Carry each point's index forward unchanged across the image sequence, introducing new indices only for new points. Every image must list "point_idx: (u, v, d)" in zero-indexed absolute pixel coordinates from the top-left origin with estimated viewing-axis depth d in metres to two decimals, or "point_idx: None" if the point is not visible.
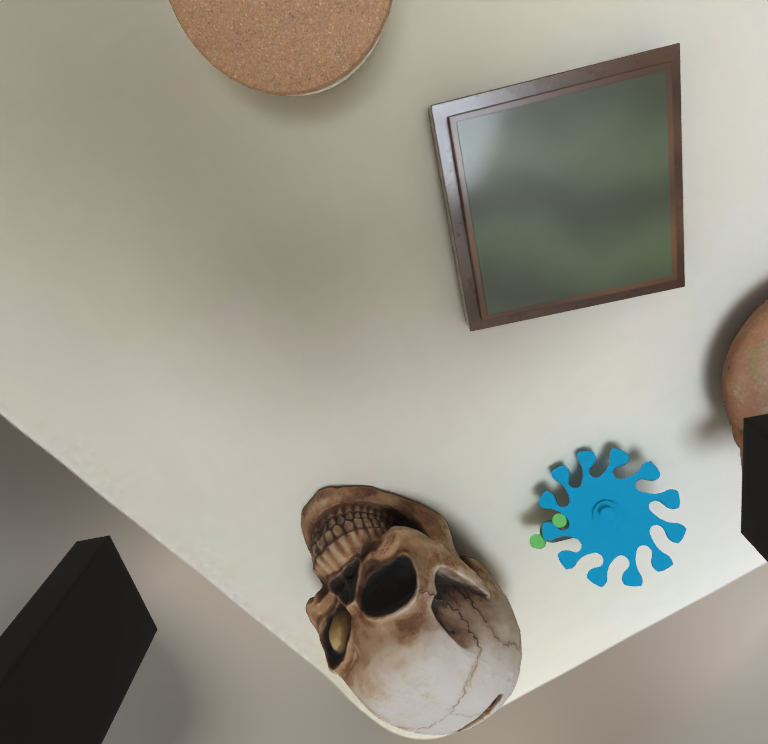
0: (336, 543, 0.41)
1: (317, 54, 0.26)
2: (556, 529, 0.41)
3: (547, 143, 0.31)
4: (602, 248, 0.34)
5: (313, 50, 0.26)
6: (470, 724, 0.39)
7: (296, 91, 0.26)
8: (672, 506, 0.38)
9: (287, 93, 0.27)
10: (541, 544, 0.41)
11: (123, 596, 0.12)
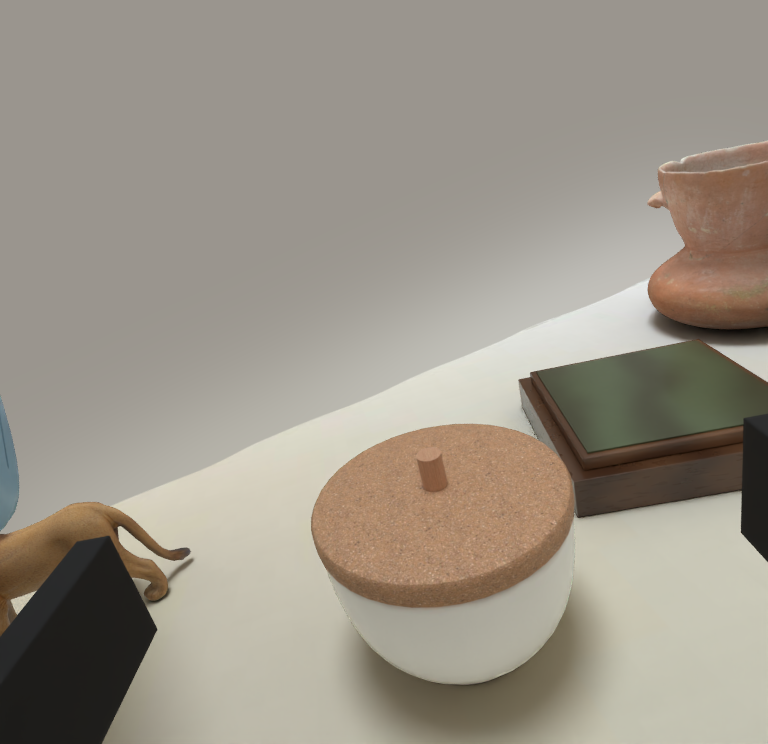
0: None
1: (527, 457, 0.23)
2: None
3: (598, 405, 0.34)
4: (687, 369, 0.36)
5: (523, 459, 0.23)
6: None
7: (568, 474, 0.21)
8: None
9: (571, 484, 0.21)
10: None
11: (123, 596, 0.12)
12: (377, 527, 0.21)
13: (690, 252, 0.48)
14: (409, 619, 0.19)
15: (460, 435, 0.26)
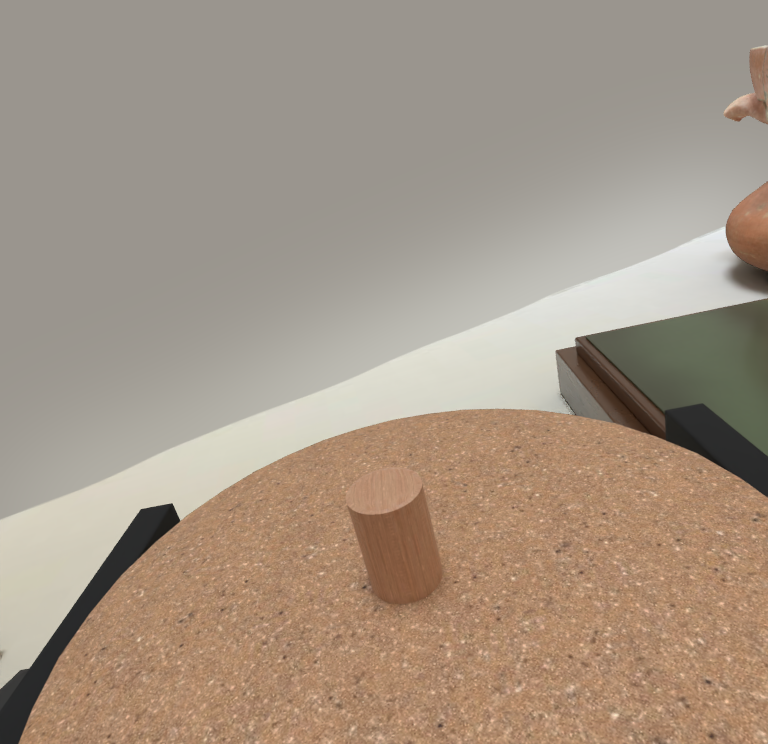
0: None
1: (670, 494, 0.08)
2: None
3: (710, 382, 0.20)
4: None
5: (660, 502, 0.08)
6: None
7: None
8: None
9: None
10: None
11: None
12: None
13: None
14: None
15: (474, 434, 0.11)
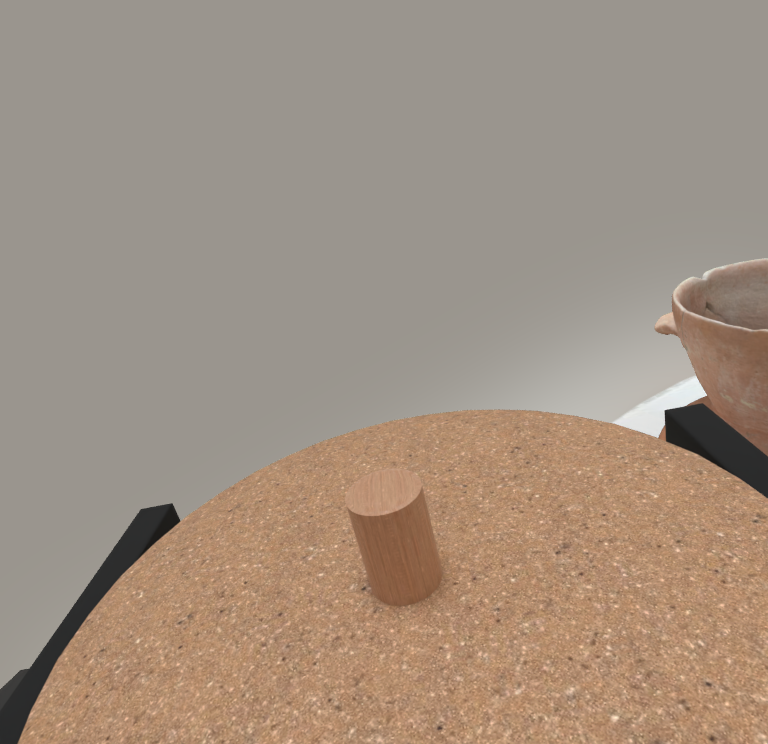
0: None
1: (670, 495, 0.08)
2: None
3: None
4: None
5: (660, 503, 0.08)
6: None
7: None
8: None
9: None
10: None
11: None
12: None
13: None
14: None
15: (474, 435, 0.11)
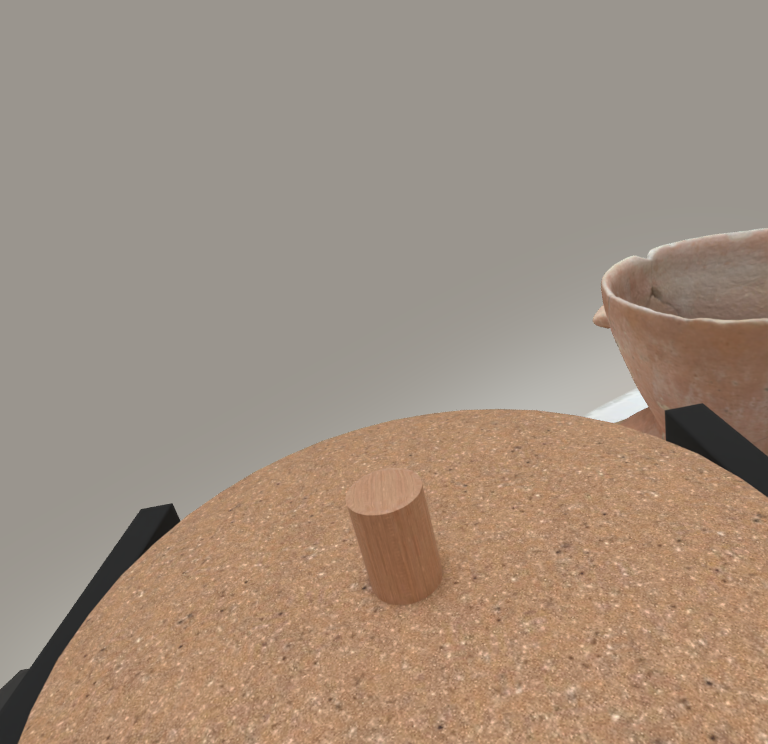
0: None
1: (670, 494, 0.08)
2: None
3: None
4: None
5: (661, 502, 0.08)
6: None
7: None
8: None
9: None
10: None
11: None
12: None
13: (663, 436, 0.25)
14: None
15: (475, 434, 0.11)
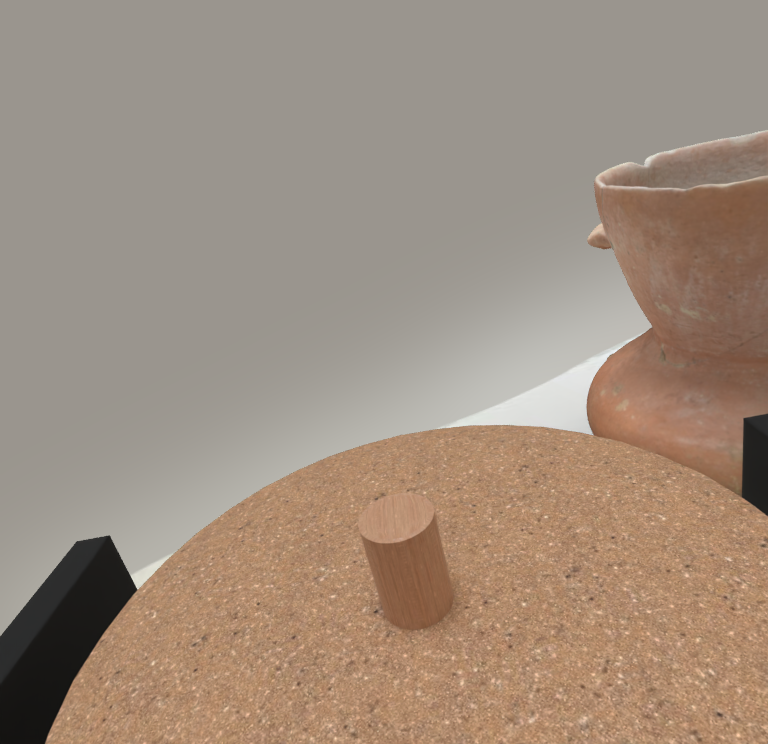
0: None
1: (678, 517, 0.08)
2: None
3: None
4: None
5: (668, 525, 0.08)
6: None
7: None
8: None
9: None
10: None
11: (123, 596, 0.12)
12: None
13: (662, 347, 0.23)
14: None
15: (482, 452, 0.11)
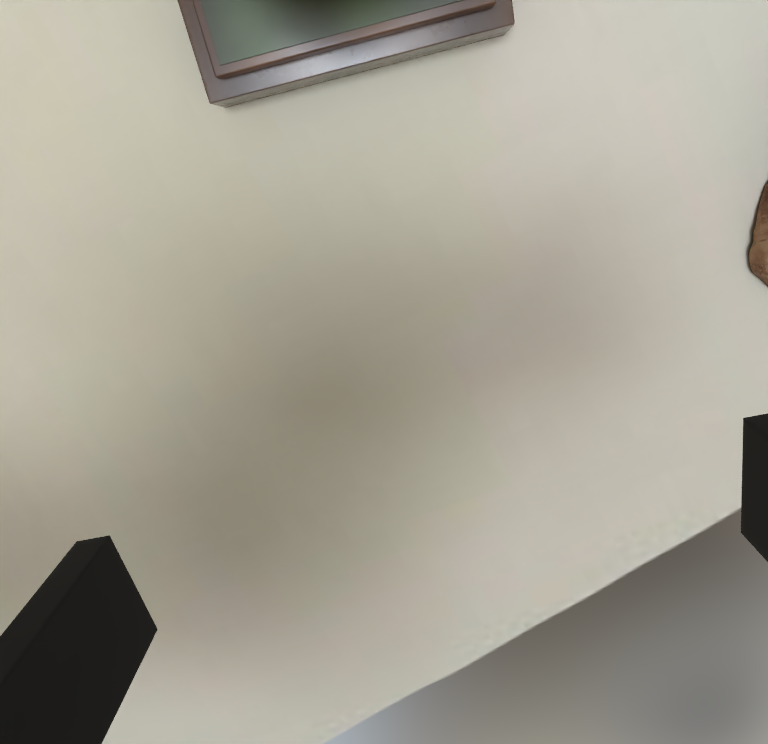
0: None
1: None
2: None
3: None
4: None
5: None
6: None
7: None
8: None
9: None
10: None
11: (123, 596, 0.12)
12: None
13: None
14: None
15: None
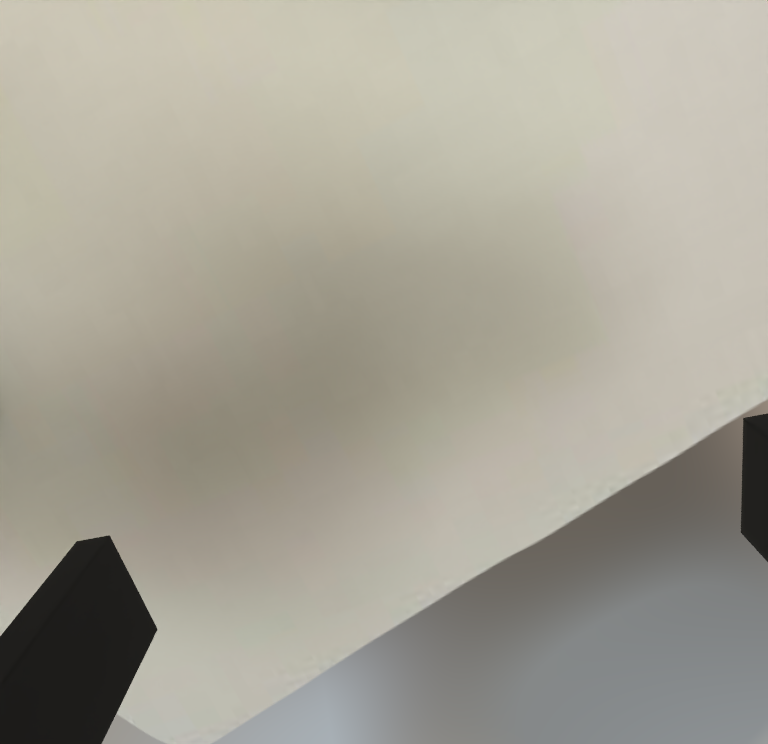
0: None
1: None
2: None
3: None
4: None
5: None
6: None
7: None
8: None
9: None
10: None
11: (123, 596, 0.12)
12: None
13: None
14: None
15: None
